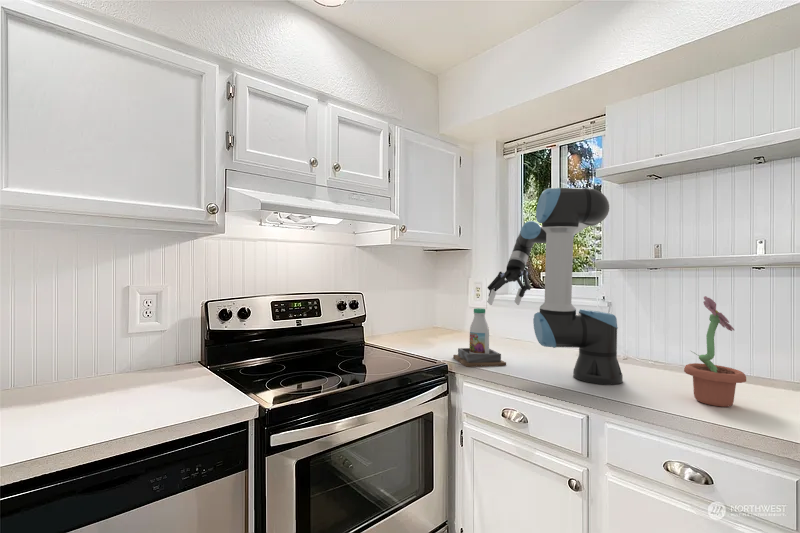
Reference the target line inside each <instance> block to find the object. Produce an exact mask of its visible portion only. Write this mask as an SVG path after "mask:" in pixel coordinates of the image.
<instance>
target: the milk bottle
mask: <svg viewBox="0 0 800 533" xmlns="http://www.w3.org/2000/svg"><path fill="white" fill-rule="evenodd" d="M473 314H474V316H473V318H472V322H471V324H470V327H469V348H470V349H469V354H489V349H490V329H489V328H490V327H489V325H488V322H487V320H486V309H485V308H474V309H473Z"/></svg>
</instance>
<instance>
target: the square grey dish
mask: <svg viewBox="0 0 800 533" xmlns="http://www.w3.org/2000/svg"><path fill="white" fill-rule="evenodd" d="M469 349H470V347H467V348H466V347H465V348H464V347H463V348H462V347H461V348H460V347H459V348H457V354H453V359H454V360H456V361H457V362H459V363H460V364H461V365H463V366H465V367H466V368H476V367H477V368H478V367H504V366H503V365H506V366H507V362H506V361H504V360H502V353H500V352H498V351H495V350H494V349H492V348H489V354H469Z"/></svg>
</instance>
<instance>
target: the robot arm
mask: <svg viewBox="0 0 800 533" xmlns="http://www.w3.org/2000/svg"><path fill="white" fill-rule="evenodd" d="M535 209H536V210H535V211H536V212H535V216H536V218H535V219H536V221H534V220H528V221H525V223H523V225H522V227H521V228H520V232H519V234H518V236H517V238H516V239H515V243H514V246H513V249H512V252H511V254H510V256H509V259H508V262H507V265H506V270H505V272H502V271H499V272H498V274H497V276H496V277H495V278H494V279H493V280H492V282H490V284H489V285H488V286H487V290H489V292H488V299H487V300H486V301H487V303H488V305H489V306H492V305H493V303H494V300H495V298H496V295H497V291H498V290H499V289H501V288H502V287H503V286H504V285H506V284H508V283H512V282H517V283H518V285H519V288H518V290H517V293H516V295H515V298H514V303H515V304H516V305H517V306H519V305H520V304H521V301H522V298H524V296H525V294H526V292H527V291H530V290H531V284H530V283H531V282H530V280H529V272H528V271H527V269H525V268H526V265H527V263H528V259H529V256H530V254H531V252H532V249H533V246H534V245H535V244H545V266H544V267H545V274H544V275H545V277H544V302H543V303H542V304H541V305H540V306H539V311H537V312H536V313H534V315H533V329H534V330H533V331H534V334H535V337H536V339H537V341H538V344H540V345H541V346H543V347H546V348H553V349H554V348H555V349H556V348H568V349H570V348H578V356H577V359H576V361H575V365H574V368H573V369H572V370H573V371H572V372H573V373H572V374H573V378H575V379H576V380H579V381H582V382H586V383H591V384H595V385H596V384H599V385H620V384H621V383H623V379H624V378H623V373H622V370H621V367H620V364H619V361H618V329H619V327H618V320H617V317H616V315H615V314H612V313H609V312H605V311H599V310H591V309H585V308H584V309H583V308H580V309H579V311H578V313H577V308H576V307H575V306H574V305H573V304H572V296H573V295H572V293H573V292H572V291H573V290H572V289H573V286H572V285H573V264H574V263H573V262H574V261H573V259H574V257H573V256H574V253H573V252H574V251H573V250H574V238H575V235H576V234H578V233H579V232H581V231H583V230H584V229H586V228H588V227H590V226H591V227H592V226H596V225H598V224H600V223H601V222H603V221H604V220H606V218H607V216H608V214H609V212H610V203H609V200H608V197H606V196H605V194H604V193H602V192H601V191H599V190H597V189H594V188H589V187H585V188H582V187H577V188H576V187H550V188H546V189H545V190H543V191H542V193H541V194H540V196H539V198H538V202H537V206H536V208H535ZM540 224H541V225H540ZM521 277H523V282H524V283H523V282H522V280H521Z"/></svg>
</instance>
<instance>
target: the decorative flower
mask: <svg viewBox="0 0 800 533" xmlns="http://www.w3.org/2000/svg"><path fill="white" fill-rule="evenodd" d="M703 305H704V307H705V308H706V309H708V311H710V312H711V313H710V315H709V317H708V318H709V325H708V328H707V331H706V334H705V335H706V353H705V354H700V355H699V354H698V353H696V352H694V351H692V350H690V352H691V353H692V354H694V355H697V356H698V359H699V361H700V362H702V363H696V362H694V363H688V364H686V365H685V366H684V367H683V368H684V369H683V372H684V373H685V374H687V375H689V376H692V385H693V388H692V389H693V395H694V398H695V400H696V401H698V402H700V403H702V404H705V405H709V406H713V407H721V408H722V407H723V408H729V407H731V406H733V404H734V401H735V395H736V394H735V393H736V387H737V384H742V383H746V382H747V375H746V374H745V372H743V371H741V370H740V369H739V370H738V369H735V368H732V367H728V366H722V365H717V364H714V363H713V361H711V360H713V359H714V357H715V354H716V352H715V351H716V350H715V348H716V347H715V336H716V330H717V327H718V326H719V325H720V326H722V328H725V329H726V330H728V331H731V332H733V331H735V328H734V327H733V326H732V325H731V324H730V321H729V320H728V318H727V317H726V316H725V315H724V314H723V312H720V311H718V310H717V303H716V301H715V300H714V299H712V298H711V297H708V296H703Z"/></svg>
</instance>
